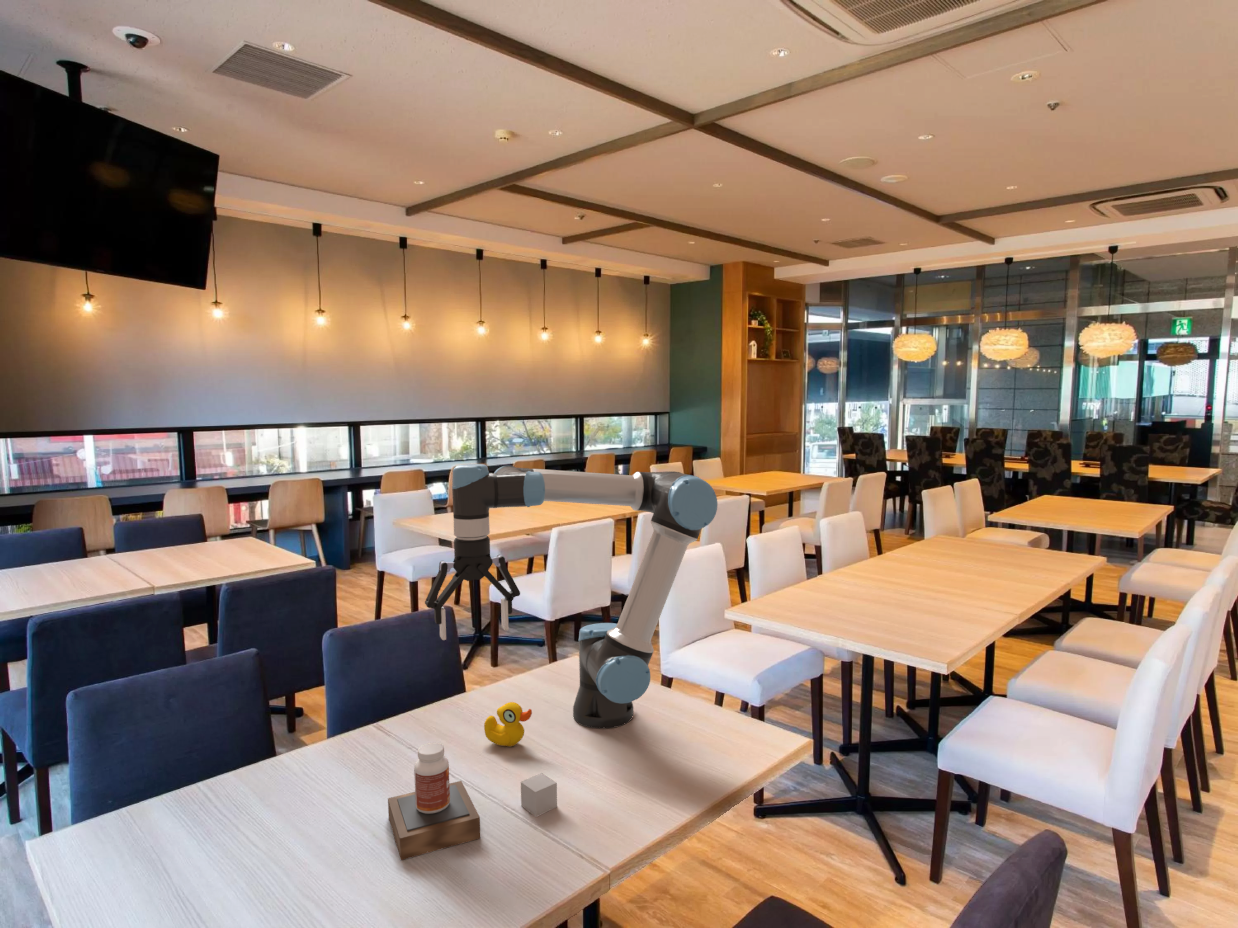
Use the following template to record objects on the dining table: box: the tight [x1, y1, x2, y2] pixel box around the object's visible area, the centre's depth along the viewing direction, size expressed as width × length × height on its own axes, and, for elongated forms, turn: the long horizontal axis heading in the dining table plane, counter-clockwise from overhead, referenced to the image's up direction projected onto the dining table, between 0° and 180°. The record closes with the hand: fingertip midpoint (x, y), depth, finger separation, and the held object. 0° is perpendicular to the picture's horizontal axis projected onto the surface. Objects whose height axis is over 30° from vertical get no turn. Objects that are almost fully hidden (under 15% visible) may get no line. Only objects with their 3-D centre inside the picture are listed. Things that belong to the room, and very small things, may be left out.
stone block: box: [520, 772, 558, 817], centre depth 140 cm, size 5×5×5 cm
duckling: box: [483, 701, 533, 748], centre depth 165 cm, size 11×5×10 cm, turn 79°
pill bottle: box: [413, 742, 450, 814], centre depth 133 cm, size 6×6×11 cm
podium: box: [387, 780, 481, 861], centre depth 133 cm, size 14×14×4 cm
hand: (474, 633), depth 156 cm, fingers open, 13 cm apart
